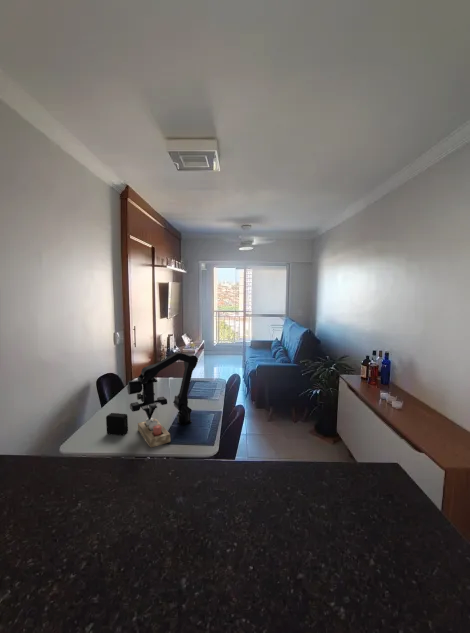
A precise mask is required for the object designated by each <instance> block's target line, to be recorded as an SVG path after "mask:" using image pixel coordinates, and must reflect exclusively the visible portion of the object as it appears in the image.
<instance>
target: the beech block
mask: <svg viewBox="0 0 470 633" xmlns="http://www.w3.org/2000/svg"><path fill="white" fill-rule="evenodd" d="M153 421H157V425H160V426H161V430H162V435H159V436H153V431H149V426H147V427H146V420H145V421H142V422H137V430H138V432H139V434H140V435H141V437H142V438H143V439H144V440H145V442H146V443H147V444H148V446H149V447H150V448H154V447H159V446H161V445H164V444H165V445H166V444H168V443H171V433H170V432H169V431H168V430H167V429H166V428H165V426H163V425H162V424H161V423H160V421H159V420H158V419H157V418H153Z"/></svg>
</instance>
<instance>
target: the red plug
mask: <svg viewBox="0 0 470 633" xmlns="http://www.w3.org/2000/svg"><path fill="white" fill-rule="evenodd" d="M159 435H162V430H161V426H160V425H156V426H154V427H153V436H159Z"/></svg>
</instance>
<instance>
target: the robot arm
mask: <svg viewBox="0 0 470 633" xmlns="http://www.w3.org/2000/svg"><path fill="white" fill-rule="evenodd" d="M178 361H181V362H183V367H184V371H183V375H182V380H181V384H180V387H179V388H180V389H179V393H178V395H174V400H173V402H172V403H173V406H174V407H175V409H177V415H176V416H177V420H176V422H177V423H179V425H181V426H185V425H188V424H191V423H192V420H191V413H192V409H191V407H189V400H188V393H189V390H190V384H191V381H192V376H193V372H194V370H195V369H196V367H197V364H198V362H199V359H198V356H197V355H194V354H191V353H187V354H186V353H183V352H182V353H181V352H179V351H175V352H174V353H172V354H171V355H169V356H167V357H165V358H164V359H161V360H160V361H158V362H157V363H152V364H150V365H147V366H144V367H143V368H141V371H140V375H138V377H137V379H136V380H128V382H127V386H126V389H127V394H128V395H135V394H136V399H137V401H134V402H130V403H129V409H130V411H131V412H133V413H135V412H138V411H140V410H141V409H142V411H144V412H145V413H146V417H147V418H148V419H151V418H153V414H154V412H155V410H156V409H158V406H157V404H160V405H161V406H165V405H168V399H167V398H166V397H165V396H159V397H157V398H156V399H155V396H156V395H155V394H156V393H155V383H158V382H159V381H158V380H157V379H156V376H157V375H158V374H159V373H160V372H161V371H163V370H164V369H166V368H167V367H169V366H171V365H173V364H175V363H176V362H178ZM141 392H142V393H141ZM138 400H140V401H141V403H139V402H138Z"/></svg>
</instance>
